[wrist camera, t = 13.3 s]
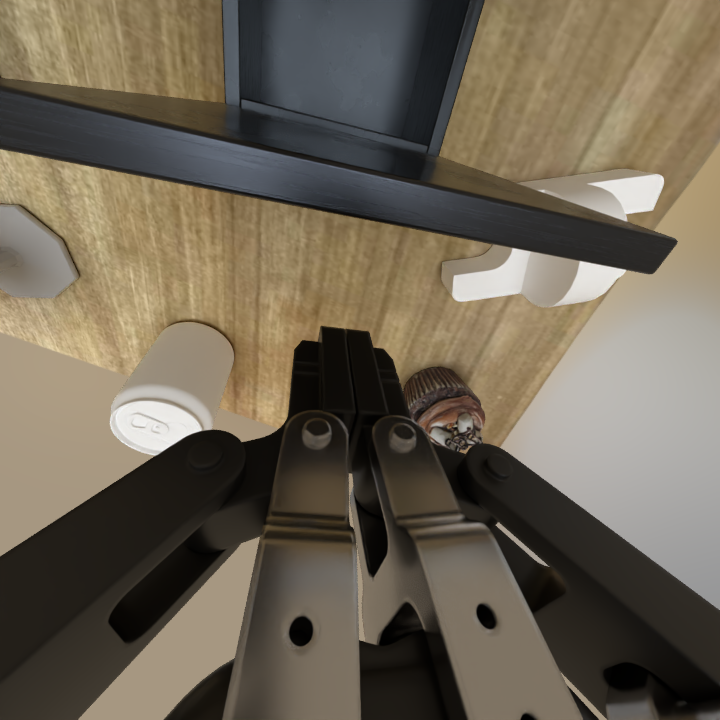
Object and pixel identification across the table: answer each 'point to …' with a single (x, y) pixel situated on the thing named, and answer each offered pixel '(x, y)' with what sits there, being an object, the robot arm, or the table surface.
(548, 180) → the white slotted bracket
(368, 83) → the metal box
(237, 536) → the robot arm
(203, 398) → the beverage can
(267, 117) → the lid
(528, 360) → the table surface
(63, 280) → the wineglass
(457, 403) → the cupcake
